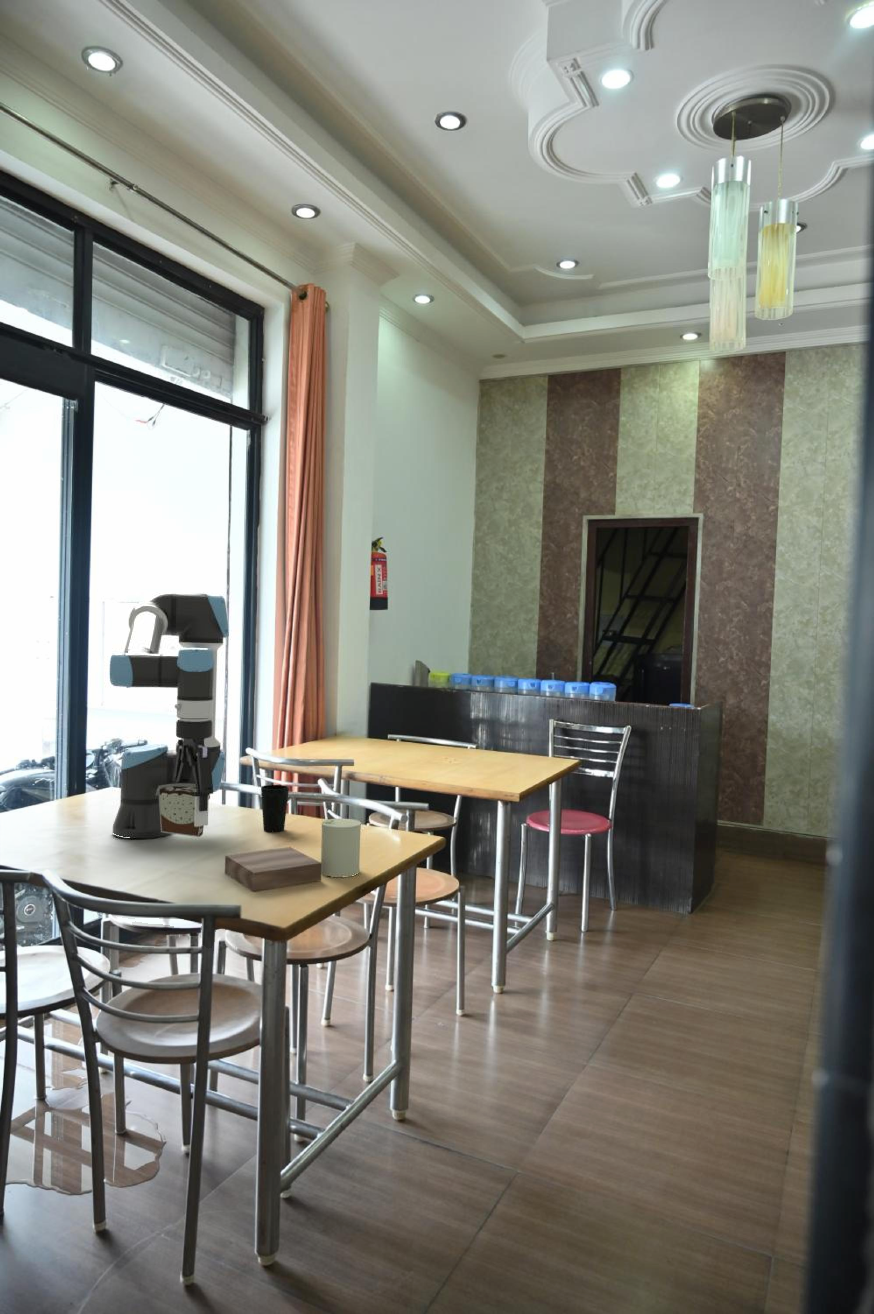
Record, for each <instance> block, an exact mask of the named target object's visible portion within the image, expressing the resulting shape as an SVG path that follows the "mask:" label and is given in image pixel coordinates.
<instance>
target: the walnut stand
mask: <svg viewBox="0 0 874 1314" xmlns="http://www.w3.org/2000/svg"><path fill="white" fill-rule="evenodd" d="M224 861H225V862H224V874H226V875H227V876H229V877H230V878H231V879H233V880H234V881H236V882H237V883H239V884H241V885H242V886H244V887H246V888H247V889H249V890H250V891H252V892H258V891H259V892H260V891H264V890H271V889H272V890H273V889H278V888H286V887H290V886H291V885H292V886H296V884H298V885H303V883H304V884H310V883H315V882H314V881H317V882H320V881H319V880H321V881H322V874H321V861H318V860H316V859H315V858H312V857H310V856H309V855H306V854H305V853H303V852H301V851H299V850H297V849H295V848H294V847H293V848H292V847H290V846H288V847H280V848H271V849H265V850H264V849H263V850H257V851H255V850H254V851H248V852H241V853H231V854H225V859H224ZM309 882H310V883H309ZM292 886H291V887H292Z"/></svg>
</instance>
